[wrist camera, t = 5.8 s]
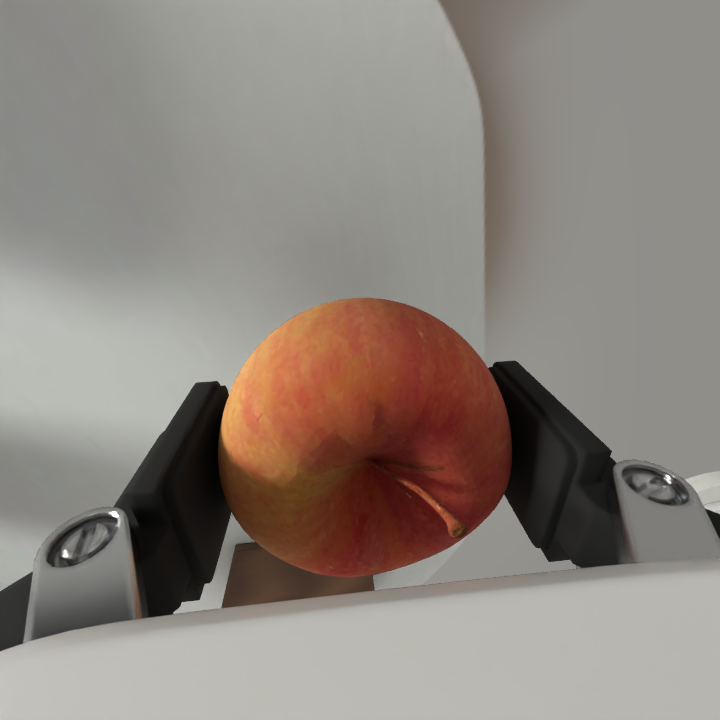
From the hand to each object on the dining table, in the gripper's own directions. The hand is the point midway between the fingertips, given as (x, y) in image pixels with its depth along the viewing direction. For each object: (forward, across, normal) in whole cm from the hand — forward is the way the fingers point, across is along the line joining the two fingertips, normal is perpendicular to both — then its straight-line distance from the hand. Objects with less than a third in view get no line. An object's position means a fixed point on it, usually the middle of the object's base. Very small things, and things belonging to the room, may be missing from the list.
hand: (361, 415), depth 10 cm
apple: (+3, 0, 0) cm, 3 cm away
